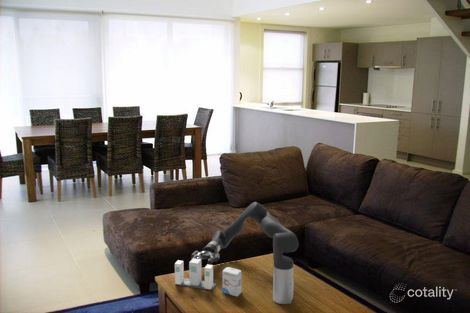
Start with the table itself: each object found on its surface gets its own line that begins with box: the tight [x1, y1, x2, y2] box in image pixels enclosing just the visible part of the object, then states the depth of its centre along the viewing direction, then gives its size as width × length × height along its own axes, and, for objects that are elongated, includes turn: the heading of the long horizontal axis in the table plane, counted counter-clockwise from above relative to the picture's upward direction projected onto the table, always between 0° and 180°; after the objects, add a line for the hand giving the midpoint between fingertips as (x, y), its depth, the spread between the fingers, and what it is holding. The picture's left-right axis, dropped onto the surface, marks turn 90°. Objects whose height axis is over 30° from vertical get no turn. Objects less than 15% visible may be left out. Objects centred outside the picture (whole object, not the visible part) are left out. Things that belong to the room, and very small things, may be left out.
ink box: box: [221, 266, 243, 297], centre depth 212 cm, size 9×5×12 cm, turn 62°
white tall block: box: [188, 258, 203, 286], centre depth 219 cm, size 4×5×12 cm
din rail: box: [174, 277, 217, 291], centre depth 220 cm, size 20×6×1 cm, turn 73°
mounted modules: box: [174, 259, 214, 290], centre depth 217 cm, size 19×4×11 cm, turn 73°
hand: (200, 261), depth 226 cm, fingers open, 8 cm apart
